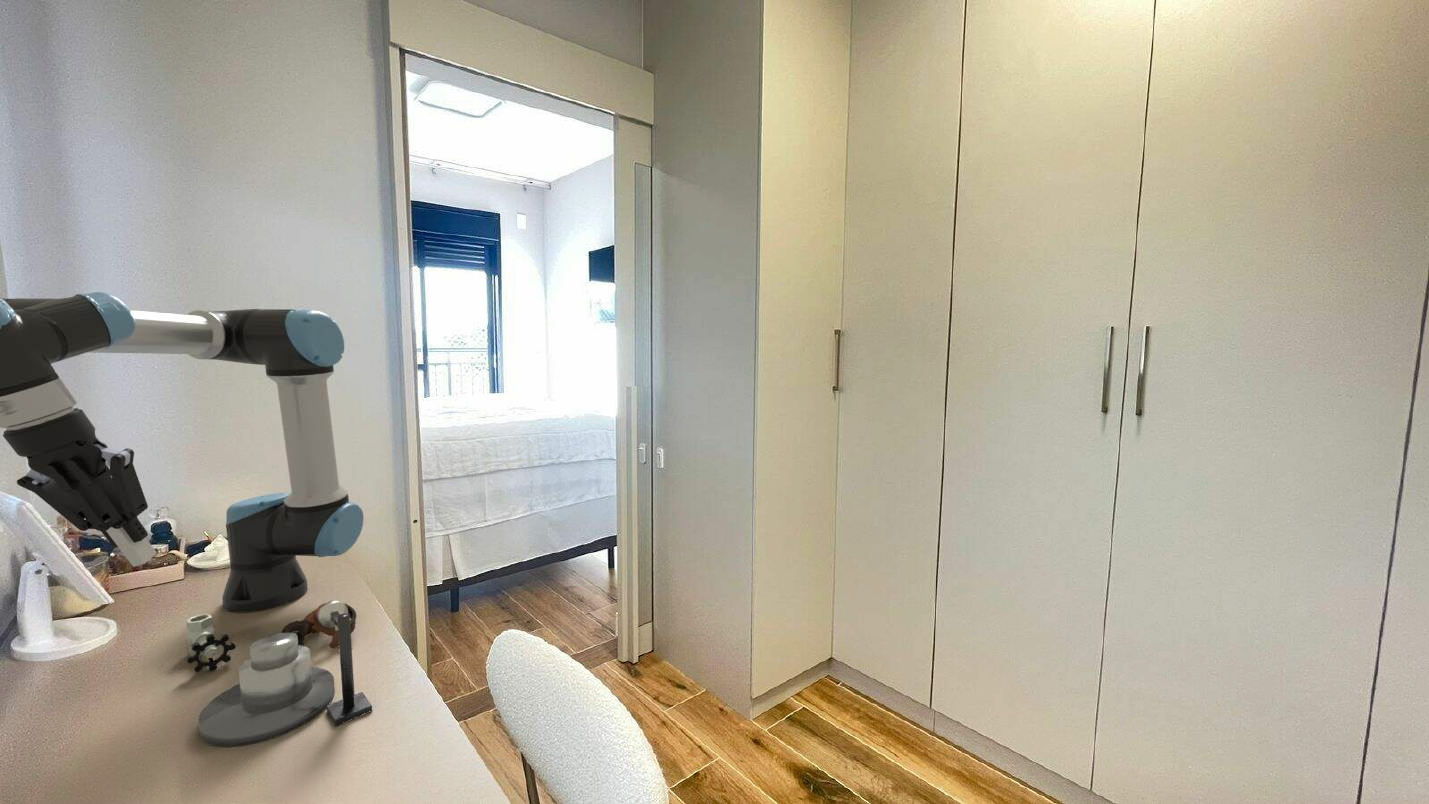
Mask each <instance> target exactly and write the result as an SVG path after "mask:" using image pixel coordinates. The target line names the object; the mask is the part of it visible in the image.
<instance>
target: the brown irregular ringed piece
mask: <svg viewBox="0 0 1429 804" xmlns="http://www.w3.org/2000/svg"><path fill="white" fill-rule="evenodd" d="M326 603H327V602H325V603H324V602H323V603H321V605H319V606H318V607H317V608H316V609H314V610H312V611H310V612H309V613H308V614H306V616H305V617H304V618H303V619H302V620H293V621H291V622H289V623H287V624H286V625H285V626H284V627H283V629H281V631H280V633H294V632H295V634H296V635H297V637H298V645H301V646H304V641H305V637H306V636H308V635H312V634H318V633H322V634H323V635H326V636H328V637H329V636H330V637H332V638H331V639H332V640H331V642H330V643H329V648H330V649H336V648H335V647H337V648H339V647H338V646H339V634H338V629H336V626H335V627H325V626H323V625H322V624H321V623H320V622H319V620H318V612H319V610H320V608H321V607H322V606H323V605H324V604H326ZM343 603H344V602H343ZM344 604H345V605H346V606H347V608H348V613H349V614H350V629H351V635H352V634H353V632H354V631H355V629H356V624H357V621H356V620H357V612H356V610H355V609H354V607H352V606H351V605H349V604H348V603H346V602H345V603H344Z"/></svg>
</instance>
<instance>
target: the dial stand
mask: <svg viewBox="0 0 1429 804" xmlns="http://www.w3.org/2000/svg"><path fill="white" fill-rule="evenodd" d="M325 603H326V604H324V603H323V604H324V605H323V606H322V607H321V608H320V610H319V612H318V620H319V622H320V623H321V624H322V625H323V626H325V627H335V626H336V627H337V630H338V634H339V647H338V648H339V661H340V662H339V665H340V675H341V676H340V679H341V691H342V693H341V694H342V699H340V700H337V701H335V702H331V703H330V704H329V705H327V707H326V713H327V712H328V713H327V714H328V716H329V718H330V720H331V721H332V722H333V724H334V726H335V727H337V726H340V725H343V724H344V723H343V722H345V723H347V722H349V721H348V720H350V721H352V720H355V719H356V718H355V717H357V718H359V717H361V716H360V715H362V714H364V713H367V712H369V711H371V712H373V705H372V704H371V702H370V701H369V699H368V698H367V697H366V695H365V694H364V692H363V691H361V692H358V693H355V680H354V667H353V666H354V664H353V647H352V646H353V645H352V634H351V629H350V620H351V618H350V614H349V613H348V608H347V606H346V605H345V604H346V603H345V604H344V602H343V601H341V600H338V599H335V600H330V601H327V602H325ZM369 713H370V712H369ZM367 714H368V713H367ZM364 715H365V714H364ZM358 716H359V717H358ZM362 716H363V715H362ZM354 718H355V719H354ZM351 719H352V720H351ZM346 721H347V722H346Z"/></svg>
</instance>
